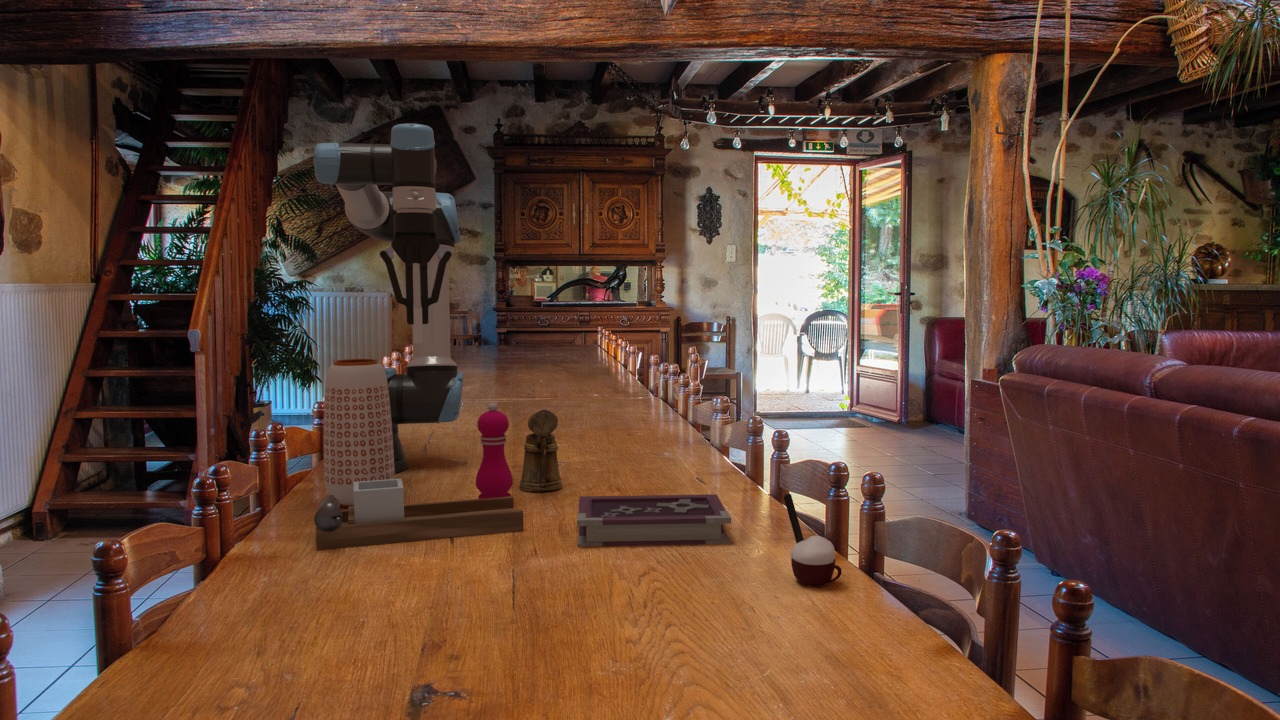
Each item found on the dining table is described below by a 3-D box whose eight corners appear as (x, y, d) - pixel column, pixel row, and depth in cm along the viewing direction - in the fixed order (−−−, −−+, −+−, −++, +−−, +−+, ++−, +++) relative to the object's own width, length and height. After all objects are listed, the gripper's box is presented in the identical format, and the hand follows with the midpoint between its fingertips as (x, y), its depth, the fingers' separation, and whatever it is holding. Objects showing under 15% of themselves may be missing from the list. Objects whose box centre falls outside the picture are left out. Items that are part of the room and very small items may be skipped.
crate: (355, 521, 152) (353, 481, 151) (402, 517, 154) (401, 478, 154) (355, 532, 145) (353, 491, 144) (404, 528, 147) (403, 487, 147)
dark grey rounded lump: (317, 524, 151) (316, 492, 150) (344, 522, 152) (343, 490, 152) (314, 545, 139) (313, 510, 139) (343, 542, 140) (342, 508, 140)
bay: (319, 531, 152) (318, 507, 152) (512, 514, 162) (512, 492, 162) (316, 549, 142) (315, 524, 141) (523, 530, 152) (523, 506, 152)
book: (577, 550, 142) (577, 520, 142) (579, 522, 158) (578, 495, 158) (730, 547, 144) (731, 517, 143) (717, 520, 160) (717, 493, 159)
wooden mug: (522, 499, 174) (520, 410, 172) (518, 483, 187) (516, 401, 185) (566, 497, 176) (565, 408, 174) (559, 481, 189) (558, 399, 187)
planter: (384, 510, 165) (380, 363, 163) (314, 511, 165) (308, 364, 163) (403, 493, 179) (399, 357, 176) (338, 494, 179) (333, 357, 176)
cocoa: (847, 591, 123) (853, 509, 122) (809, 596, 121) (815, 512, 119) (809, 568, 132) (815, 491, 130) (774, 572, 129) (779, 493, 128)
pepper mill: (505, 509, 166) (503, 406, 164) (470, 507, 168) (467, 405, 166) (518, 500, 173) (516, 400, 171) (484, 498, 175) (482, 399, 173)
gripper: (377, 210, 152) (381, 344, 154) (453, 211, 156) (456, 342, 158) (376, 213, 159) (380, 342, 161) (449, 214, 163) (452, 340, 165)
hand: (418, 342), depth 159 cm, fingers closed
